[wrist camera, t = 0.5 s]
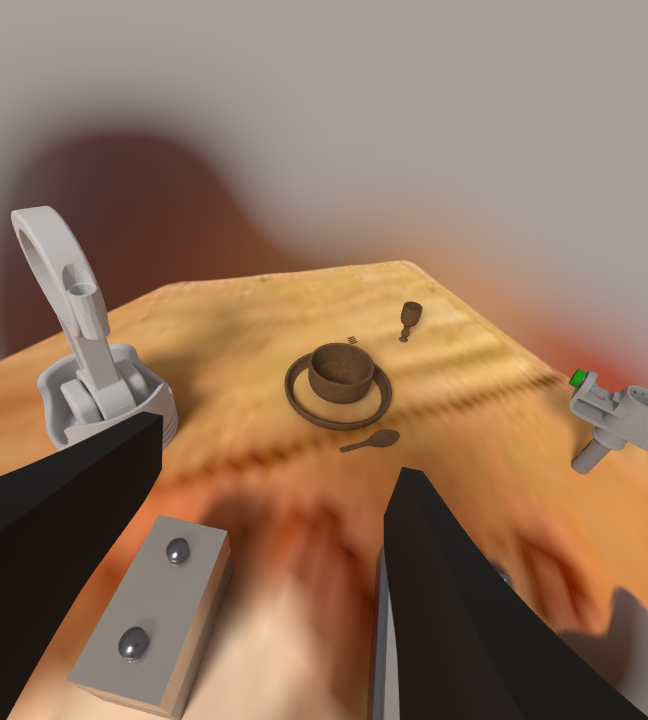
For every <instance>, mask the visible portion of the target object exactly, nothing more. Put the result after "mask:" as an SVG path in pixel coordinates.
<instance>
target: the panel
mask: <svg viewBox="0 0 648 720" xmlns="http://www.w3.org/2000/svg"><path fill="white" fill-rule="evenodd" d="M499 575H500V576H501V577H502V578H503V579H504V580H505V581H506V583H507V584H508V585H509V586H510V581H509V576H508V575H503V574H499ZM510 587H511V586H510ZM367 720H400V714H399V688H398V666H397V651H396V640H395V631H394V624H393V616H392V609H391V601H390V594H389V586H388V579H387V571H386V563H385V554H384V547H382V548H381V551H380V553H379V555H378V557H377V568H376V583H375V598H374V613H373V629H372V644H371V659H370V675H369V690H368V705H367Z"/></svg>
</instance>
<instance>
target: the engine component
mask: <svg viewBox="0 0 648 720" xmlns="http://www.w3.org/2000/svg"><path fill="white" fill-rule="evenodd" d="M11 218H12V222H13V226H14V229H15V232H16V234H17V237H18V240H19V242H20V245H21V247H22V249H23V252H24V254H25V256H26V258H27V260H28V263H29V265H30V267H31V268H32V271H33V273H34V275H35V277H36V279H37V280H38V282H39V284H40V286H41V288H42V290H43V292H44V293H45V295H46V297H47V299H48V301H49V302H50V304H51V305H52V307H53V309H54V311H55V312H56V314H57V316H58V319H59V321H60V323H61V326H62V328H63V330H64V332H65V335H66V337H67V339H68V342H69V344H70V346H71V348H72V351H73V353H72V354H70V355H67V356H66V357H64V358H62V359H60V360H58V361H57V362H55V363H54V364H52V365H51V366H49V367H48V368H47V369H46V370H45V371H44V372H43V373H42V374H40V376H39V378H38V382H37V386H38V389H39V391H40V393H41V394H42V397H43V401H44V408H45V419H46V428H47V432H48V435H49V437H50V439H51V441H52V442H53V444H54V445H55V447H56V448H57V450H58V452H59V451H61V450H63V449H66V448H68V447H70V446H72V445H74V444H76V443H78V442H81V441H83V440H85V439H87V438H89V437H91V436H93V435H95V434H97V433H99V432H101V431H103V430H105V429H107V428H109V427H111V426H113V425H115V424H117V423H119V422H121V421H123V420H125V419H127V418H129V417H131V416H133V415H136V414H138V413H140V412H142V411H145V412H149V413H154V414H159V415H163V446H162V451H163V450H164V449H165V448H166V447H167V446H168V444H169V443H170V442H171V440H172V439H173V437H174V435H175V433H176V430H177V427H178V414H177V410H176V406H175V402H174V397H173V393H172V390H171V388H170V386H169V385H168V384H167V383H166V382H165V380H163V379H162V378H161V377H159V376H158V375H157V374H155V373H154V372H153V371H151V370H150V369H149V368H148V367H146V366H145V365H144V364H143V363H142V362H141V360H140V359H139V357H138V356H137V353H136V350H135V348H134V347H133V346H131V345H129V344H125V343H111V344H108V343H107V340H106V336H108V335H109V333H110V327H109V324H108V317H107V311H106V307H105V303H104V300H103V297H102V294H101V291H100V289H99V286H98V284H97V281H96V279H95V276H94V274H93V271H92V269H91V267H90V265H89V263H88V261H87V259H86V257H85V255H84V253H83V251H82V249H81V247H80V245H79V244H78V242H77V240H76V238H75V237H74V235H73V233H72V232H71V230H70V229H69V227H68V226H67V224H66V223H65V221H64V220H63V219H62V217H61V216H60V215H59V214H58V213H57V212H56V211H55V210H54V209H52V208H51V207H49V206H42V207H35V208H28V209H21V210H14V211H13V212H12V214H11Z"/></svg>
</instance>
